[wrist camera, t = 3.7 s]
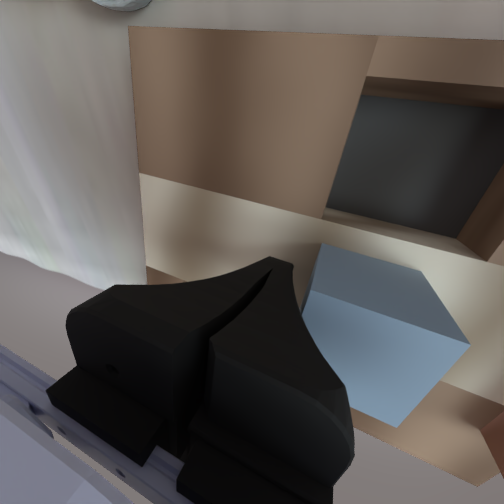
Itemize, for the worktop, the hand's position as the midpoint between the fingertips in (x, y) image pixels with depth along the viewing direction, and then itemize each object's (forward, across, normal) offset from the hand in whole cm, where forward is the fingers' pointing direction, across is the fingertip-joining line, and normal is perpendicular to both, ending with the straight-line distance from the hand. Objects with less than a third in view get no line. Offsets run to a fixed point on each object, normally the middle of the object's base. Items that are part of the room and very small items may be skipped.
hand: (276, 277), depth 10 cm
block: (+1, -4, 0) cm, 4 cm away
